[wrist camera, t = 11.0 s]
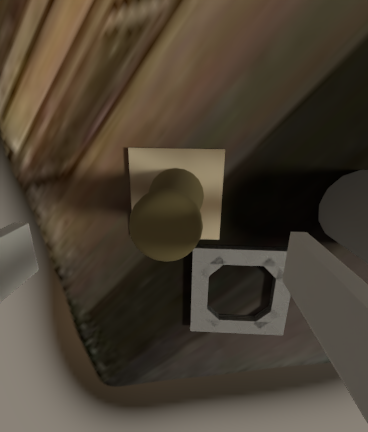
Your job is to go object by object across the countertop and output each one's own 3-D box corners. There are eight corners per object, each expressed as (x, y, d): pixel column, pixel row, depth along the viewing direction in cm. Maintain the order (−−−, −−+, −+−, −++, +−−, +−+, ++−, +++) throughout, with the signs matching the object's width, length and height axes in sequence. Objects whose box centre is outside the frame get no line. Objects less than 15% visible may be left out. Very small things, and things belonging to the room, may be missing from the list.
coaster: (129, 147, 24) (128, 147, 24) (224, 149, 24) (225, 149, 23) (134, 234, 27) (133, 236, 27) (218, 237, 27) (219, 239, 27)
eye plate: (192, 244, 28) (192, 248, 27) (294, 247, 27) (298, 251, 26) (190, 325, 31) (190, 330, 30) (280, 329, 31) (283, 335, 30)
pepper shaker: (203, 222, 26) (209, 276, 15) (150, 221, 26) (120, 274, 16) (204, 167, 24) (211, 187, 14) (147, 167, 24) (111, 187, 14)
